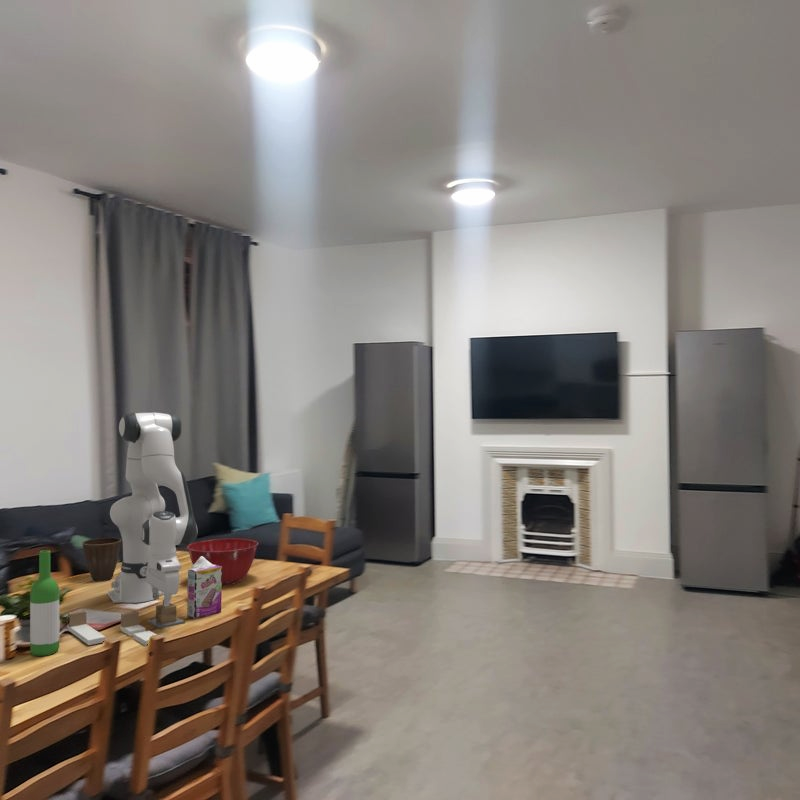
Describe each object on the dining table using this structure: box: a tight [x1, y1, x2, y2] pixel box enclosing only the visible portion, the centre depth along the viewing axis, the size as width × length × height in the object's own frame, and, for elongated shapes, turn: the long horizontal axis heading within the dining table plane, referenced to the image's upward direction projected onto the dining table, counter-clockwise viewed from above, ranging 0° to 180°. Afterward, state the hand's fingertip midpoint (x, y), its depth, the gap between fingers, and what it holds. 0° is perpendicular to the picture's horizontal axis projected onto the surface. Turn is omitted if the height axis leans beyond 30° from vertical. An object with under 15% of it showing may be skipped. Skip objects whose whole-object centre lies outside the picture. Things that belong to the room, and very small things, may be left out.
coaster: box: [147, 616, 186, 629], centre depth 245 cm, size 9×9×1 cm
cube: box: [155, 603, 177, 624], centre depth 245 cm, size 5×5×5 cm
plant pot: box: [81, 537, 122, 582], centre depth 304 cm, size 15×15×16 cm
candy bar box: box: [186, 565, 223, 620], centre depth 254 cm, size 11×5×16 cm, turn 141°
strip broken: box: [120, 610, 157, 647], centre depth 231 cm, size 20×5×6 cm, turn 41°
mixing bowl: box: [186, 538, 259, 586], centre depth 300 cm, size 28×28×16 cm
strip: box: [67, 609, 106, 646], centre depth 230 cm, size 20×5×6 cm, turn 41°
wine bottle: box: [29, 549, 60, 657], centre depth 216 cm, size 8×8×30 cm
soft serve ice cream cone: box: [190, 556, 212, 569], centre depth 275 cm, size 8×8×16 cm
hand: (160, 602), depth 245 cm, fingers open, 8 cm apart
